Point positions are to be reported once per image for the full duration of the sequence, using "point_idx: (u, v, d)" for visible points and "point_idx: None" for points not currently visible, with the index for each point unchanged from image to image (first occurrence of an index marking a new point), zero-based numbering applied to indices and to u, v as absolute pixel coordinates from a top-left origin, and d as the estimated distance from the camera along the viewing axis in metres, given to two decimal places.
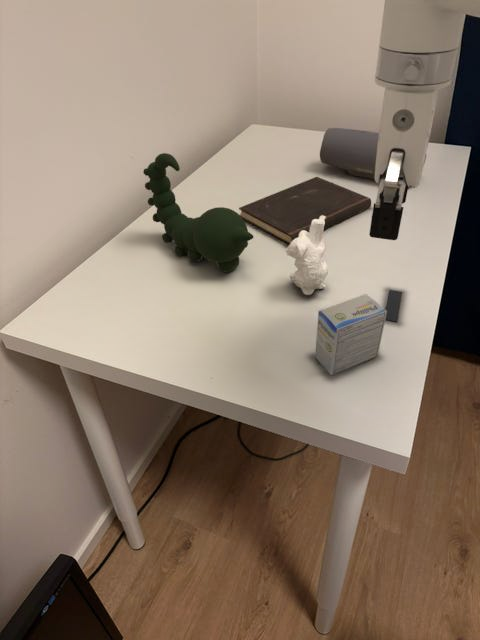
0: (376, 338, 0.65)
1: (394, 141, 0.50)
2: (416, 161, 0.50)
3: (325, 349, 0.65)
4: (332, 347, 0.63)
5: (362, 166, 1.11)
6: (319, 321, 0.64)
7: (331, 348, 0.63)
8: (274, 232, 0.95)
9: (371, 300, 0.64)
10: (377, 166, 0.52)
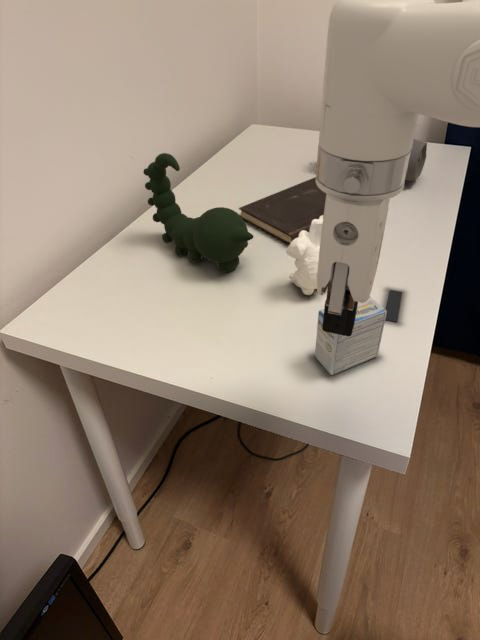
0: (376, 338, 0.65)
1: (336, 255, 0.41)
2: (363, 277, 0.42)
3: (325, 349, 0.65)
4: (332, 347, 0.63)
5: None
6: (319, 321, 0.64)
7: (331, 348, 0.63)
8: (274, 232, 0.95)
9: (371, 300, 0.64)
10: (318, 278, 0.44)
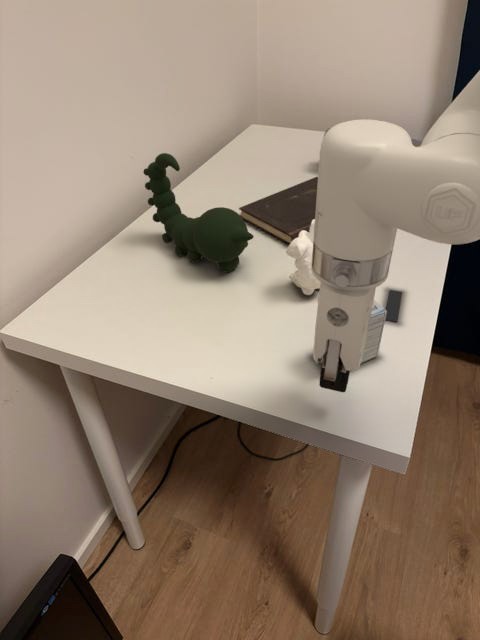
0: (376, 338, 0.65)
1: (330, 333, 0.48)
2: (353, 352, 0.48)
3: None
4: None
5: None
6: None
7: None
8: (274, 232, 0.95)
9: None
10: (315, 350, 0.50)
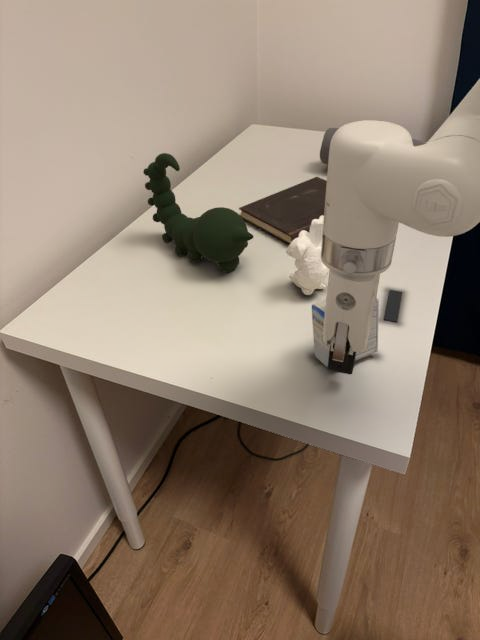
0: (373, 330, 0.65)
1: (338, 316, 0.52)
2: (360, 334, 0.52)
3: (322, 343, 0.65)
4: None
5: None
6: (313, 315, 0.65)
7: None
8: (274, 232, 0.95)
9: None
10: (324, 333, 0.54)
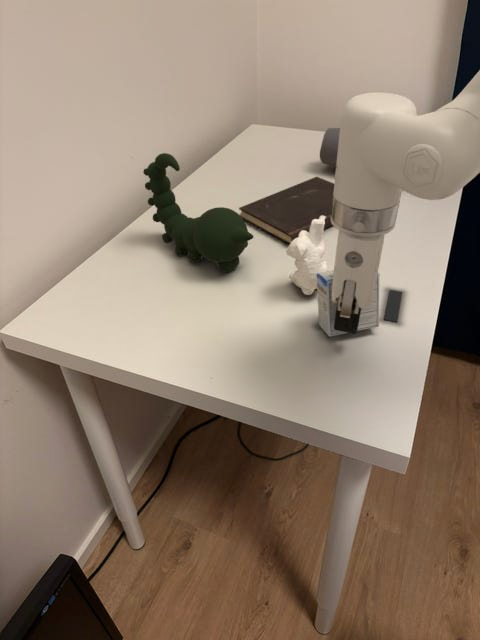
0: (373, 303, 0.69)
1: (346, 274, 0.57)
2: (366, 291, 0.57)
3: (323, 310, 0.70)
4: (326, 304, 0.68)
5: None
6: (317, 284, 0.71)
7: (326, 306, 0.69)
8: (274, 232, 0.95)
9: None
10: (333, 291, 0.59)
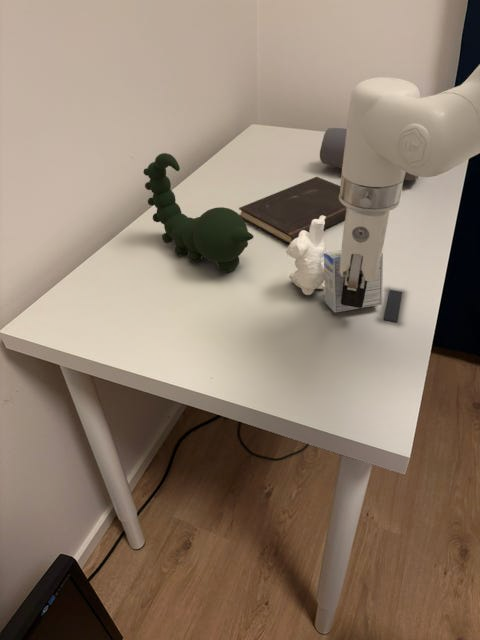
0: (376, 281, 0.73)
1: (354, 248, 0.61)
2: (372, 264, 0.62)
3: (329, 287, 0.74)
4: (332, 282, 0.73)
5: None
6: (324, 263, 0.75)
7: (332, 283, 0.73)
8: (274, 232, 0.95)
9: None
10: (341, 265, 0.63)
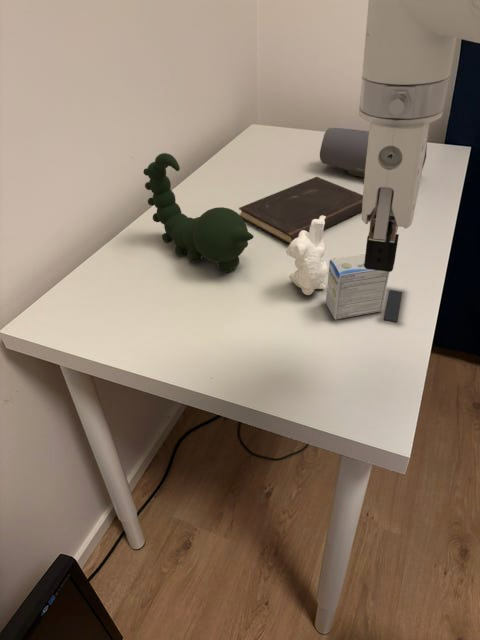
0: (379, 292, 0.73)
1: (381, 180, 0.45)
2: (406, 201, 0.45)
3: (332, 294, 0.74)
4: (336, 293, 0.72)
5: (362, 166, 1.11)
6: (329, 269, 0.73)
7: (335, 294, 0.72)
8: (274, 232, 0.95)
9: None
10: (364, 206, 0.47)
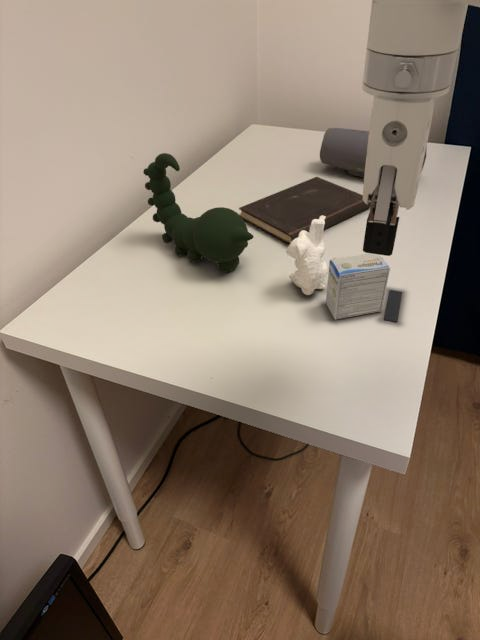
0: (379, 292, 0.73)
1: (384, 157, 0.43)
2: (410, 180, 0.43)
3: (332, 294, 0.74)
4: (336, 293, 0.72)
5: (362, 166, 1.11)
6: (329, 269, 0.73)
7: (335, 294, 0.72)
8: (274, 232, 0.95)
9: (379, 257, 0.72)
10: (365, 185, 0.45)
